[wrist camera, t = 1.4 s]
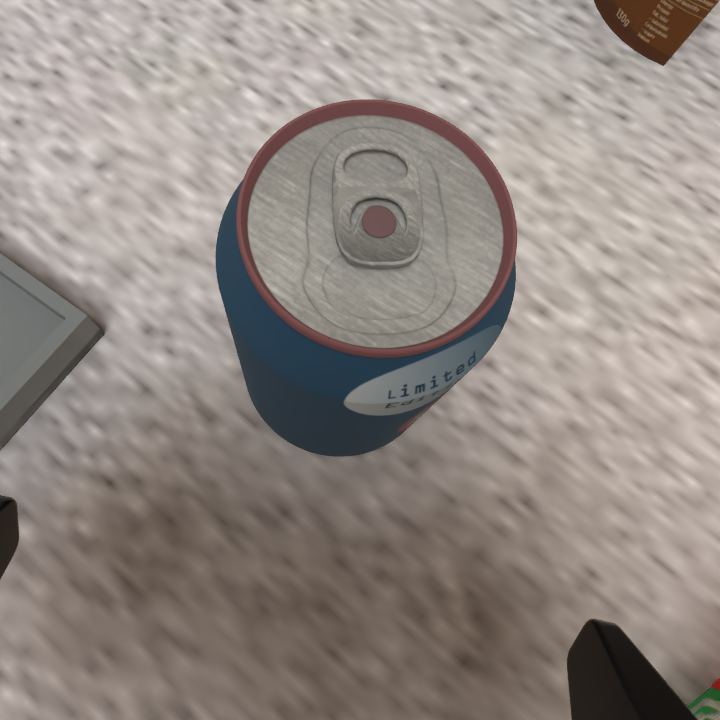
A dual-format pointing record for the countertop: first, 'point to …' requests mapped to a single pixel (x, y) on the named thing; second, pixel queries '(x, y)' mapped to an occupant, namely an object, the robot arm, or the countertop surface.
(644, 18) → the food container
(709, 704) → the stack of blocks
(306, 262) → the soda can
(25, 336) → the tray
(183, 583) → the countertop surface
